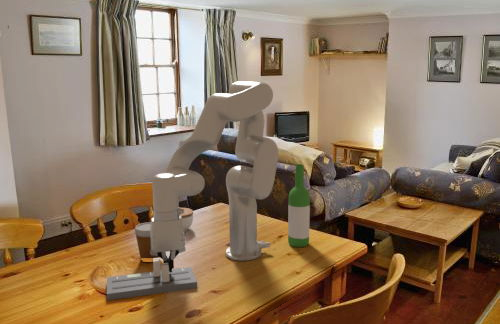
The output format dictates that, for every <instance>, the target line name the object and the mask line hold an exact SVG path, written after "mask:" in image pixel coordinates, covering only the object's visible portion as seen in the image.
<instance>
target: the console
mask: <svg viewBox="0 0 500 324" xmlns="http://www.w3.org/2000/svg"><path fill="white" fill-rule="evenodd" d="M192 289H198V281H197V278H196V276H195V272H194V270H193V268H192V266H187V267H179V268H173V269H172V272H171V273H170V272H169V282H163V281H162V271H161V276H157V277H154V273H153V271H147V272H146V271H145V272H140V273H139V272H138V273H131V274H124V275H116V276H107V277H106V300H107V301H112V300H113V301H114V300H120V299H127V298H134V297H141V296H148V295H149V296H151V295H156V294H162V293H170V292H178V291H184V290H192Z"/></svg>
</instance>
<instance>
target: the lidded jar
mask: <svg viewBox="0 0 500 324" xmlns="http://www.w3.org/2000/svg"><path fill="white" fill-rule="evenodd" d="M179 208H180V209H184V213H183V214H180V215H179V216H181V218H182V223H183V229H184V233H185V232H187V231H188V230H189V229H190V228H191V226H192V224H193V220H194V211H193V209H191V208H190V207H189V208H188V207H179Z"/></svg>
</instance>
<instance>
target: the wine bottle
mask: <svg viewBox="0 0 500 324" xmlns="http://www.w3.org/2000/svg"><path fill="white" fill-rule="evenodd" d="M304 167H305V165H304V164H295V174H294V175H295V177H294V179H295V180H294V182H295V183H294V187H293V188H292V189H290V191H289V194H288V210H287V211H288V217H287V218H288V222H287V240H288V244H289V245H290V246H292V247H295V248H303V247H306V246H308V245H309V242H310V221H311V220H310V217H311V216H310V215H311V205H310V203H311V196H310V192H309V191H308V189H307V188H306V187H305V186H304V185H305V183H304V180H305V179H304V177H305V175H304V174H305V170H304V169H305V168H304Z"/></svg>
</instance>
